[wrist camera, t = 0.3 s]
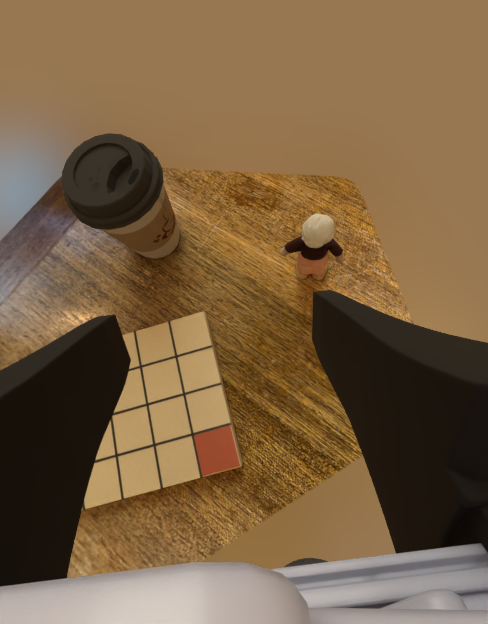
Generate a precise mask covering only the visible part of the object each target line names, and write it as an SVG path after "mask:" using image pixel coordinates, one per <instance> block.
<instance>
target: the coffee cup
mask: <svg viewBox="0 0 488 624" xmlns="http://www.w3.org/2000/svg"><path fill="white" fill-rule="evenodd" d="M62 185H63V188H64V196H65V199H66V201H67V204H68V207H69V208H70V209H71V210H72V212H73V213H74V214H75V215H76V217H77V218H78V219H79V220H80V221H81V222H82V223H84V224H86V225H88V226H90V227H92V228H96V229H101V230H103V231H104V232H106V233H108V234H109V235H111V236H112V237H114V238H115V239H117V240H118V241H120V242H122V243H123V244H125V245H126V246H128V247H129V248H131V249H133V250H134V251H136V252H137V253H139V254H141V255H143V256H145V257H148V258H154V259H157V258H163V257H165V256H167V255H169V254H170V253H171V252H172V251H174V250H175V248H176V246H177V245H178V242H179V239H180V232H179V226H178V223H177V220H176V217H175V215H174V212H173V209H172V207H171V204H170V201H169V198H168V196H167V193H166V190H165V188H164V185H163V170H162V167H161V165H160V163H159V161H158V159H157V158H156V157H155V156H154V154H153V153H152V152H151V151H150V150H149V149H148V148H147V147H146V146H145V145H144V144H142V143H140V142H137V141H135V140H133V139H131V138H129V137H126V136H124V135H121V134H104V135H99V136H95V137H93V138H91V139H89V140H87V141H85V142H83V143H82V144H81V145H80V146H78V147H77V148H76V149H75V150H74V151H73V152H72V154H71V155H70V156H69V158H68V159H67V161H66V163H65V166H64V169H63V171H62Z"/></svg>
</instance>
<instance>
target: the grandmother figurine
mask: <svg viewBox="0 0 488 624" xmlns="http://www.w3.org/2000/svg"><path fill="white" fill-rule="evenodd" d="M334 229H335V228H334V222H333V220H332V219H331V218H330V217H329V216H327V215H322V214H314V215H312V216H311V217H309V218H308V220H307V221H306V222H305V223H304V225H303V228H302V236H301V237H299V238H296V239H294V240H292V241H291V242H289V243H287V244H286V245H285V247H284V248H282V249H281V251H280V253H281V255H283V256H286V255H288V254H289V253H293V252H297V251H299V253H298V258H297V264H296V266H295V268H296V275H297V277H298V278H299V279H306V278H307V277H308V274H312V277H313V278H314V279H316V280H321V279H322V278H323V277H324V275H325V274H326V272H327V270H328V267H327V260H328V252H327V251H328V249H329V250H330V252H331V253H332V254H333V255H334V256H335V258H336V260H337V261H338V262H343V261H344V259H345V256H344V255H343V250H342V248H341V247H340V246H339V245H338V244H337V243H336V242H335V240H334V239H332V238H333V235H334Z"/></svg>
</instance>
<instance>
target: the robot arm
mask: <svg viewBox="0 0 488 624" xmlns="http://www.w3.org/2000/svg"><path fill="white" fill-rule="evenodd" d="M312 340H313V343H314V346H315V349H316V352H317V355H318V358H319V360H320V363H321V365H322V367H323V369H324V371H325V373H326V375H327V376H328V378H329V380H330V382H331V384H332V386H333V388H334V390H335V392H336V394H337V396H338V398H339V400H340V402H341V404H342V405H343V407H344V409H345V411H346V414H347V416H348V418H349V420H350V422H351V425H352V428H353V430H354V433H355V435H356V438H357V440H358V443H359V446H360V448H361V451H362V454H363V456H364V459H365V462H366V465H367V467H368V470H369V473H370V476H371V478H372V481H373V484H374V487H375V490H376V493H377V496H378V499H379V502H380V504H381V508H382V511H383V514H384V516H385V520H386V523H387V526H388V529H389V532H390V536H391V539H392V542H393V545H394V548H395V551H396V554H390V555H381V556H374V557H366V558H357V559H350V560H341V561H334V562H325V563H317V564H309V565H301V566H293V567H285V568H278V569H266V568H263V567H259V566H256V565H253V564H250V563H246V562H194V563H186V564H178V565H170V566H161V567H153V568H145V569H137V570H129V571H121V572H113V573H105V574H97V575H89V576H81V577H73V578H67V573H68V568H69V563H70V558H71V553H72V549H73V544H74V540H75V536H76V531H77V527H78V523H79V518H80V514H81V510H82V506H83V503H84V499H85V495H86V491H87V487H88V484H89V480H90V477H91V473H92V470H93V466H94V463H95V460H96V456H97V453H98V450H99V447H100V445H101V442H102V439H103V437H104V434H105V432H106V430H107V427H108V425H109V422H110V420H111V418H112V415H113V413H114V410H115V408H116V406H117V403H118V401H119V398H120V396H121V394H122V391H123V389H124V386H125V383H126V380H127V376H128V372H129V367H130V363H131V358H130V356H129V353H128V350H127V347H126V344H125V341H124V339H123V336H122V333H121V330H120V327H119V325H118V322H117V319H116V316H115V315H108V316H99V317H96V318H94V319H91V320H89V321H87V322H86V323H84V324H82V325H80V326H78V327H77V328H75V329H73V330H72V331H70V332H68V333H67V334H65V335H63V336H61V337H60V338H58V339H56V340H55V341H53V342H51V343H50V344H48V345H46V346H45V347H43V348H41V349H39V350H37V351H36V352H34V353H32V354H30V355H29V356H27V357H25V358H23V359H21V360H20V361H18V362H16V363H14V364H12V365H10V366H8V367H6V368H4V369H2V370H0V624H488V343H486V342H480V341H475V340H471V339H467V338H462V337H458V336H453V335H449V334H445V333H441V332H437V331H434V330H430V329H427V328H424V327H420V326H418V325H414V324H411V323H408V322H405V321H402V320H400V319H397V318H395V317H392V316H389V315H387V314H384V313H382V312H379V311H377V310H375V309H372V308H370V307H368V306H366V305H364V304H361V303H359V302H357V301H355V300H353V299H350V298H348V297H346V296H344V295H342V294H339V293H337V292H334V291H331V290H327V291H318V292H313V325H312Z"/></svg>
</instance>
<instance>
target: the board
mask: <svg viewBox="0 0 488 624" xmlns="http://www.w3.org/2000/svg"><path fill="white" fill-rule="evenodd" d="M122 336H123V339H124V341H125V344H126V347H127V350H128V353H129V356H130V358H131V363H130V367H129V372H128V376H127V380H126V383H125V386H124V389H123V391H122V394H121V396H120V398H119V401H118V403H117V406H116V408H115V410H114V413H113V415H112V418H111V420H110V422H109V425H108V427H107V430H106V432H105V434H104V437H103V439H102V442H101V445H100V447H99V450H98V453H97V456H96V460H95V463H94V466H93V470H92V473H91V477H90V480H89V484H88V487H87V491H86V495H85V499H84V503H83V506H82V510H85V509H88V508H92V507H96V506H99V505H103V504H107V503H110V502H114V501H117V500H122V499H125V498H128V497H132V496H136V495H139V494H143V493H147V492H150V491H154V490H158V489H162V488H165V487H169V486H172V485H176V484H180V483H183V482H187V481H191V480H194V479H198V478H203V477H205V476H209V475H213V474H216V473H220V472H224V471H227V470H231V469H235V468H238V467H241V466H242V464H243V462H242V458H241V454H240V450H239V446H238V442H237V437H236V433H235V429H234V425H233V421H232V417H231V413H230V409H229V405H228V401H227V397H226V393H225V389H224V384H223V380H222V376H221V372H220V368H219V364H218V360H217V356H216V352H215V348H214V344H213V340H212V336H211V331H210V327H209V323H208V319H207V315H206V313H205V312H204V311H203V312H200V313H196V314H193V315H190V316H186V317H183V318H179V319H176V320H172V321H168V322H166V323H162V324H159V325H155V326H152V327H149V328H145V329H142V330H138V331H134V332H132V333H128V334H125V335H122Z"/></svg>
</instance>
